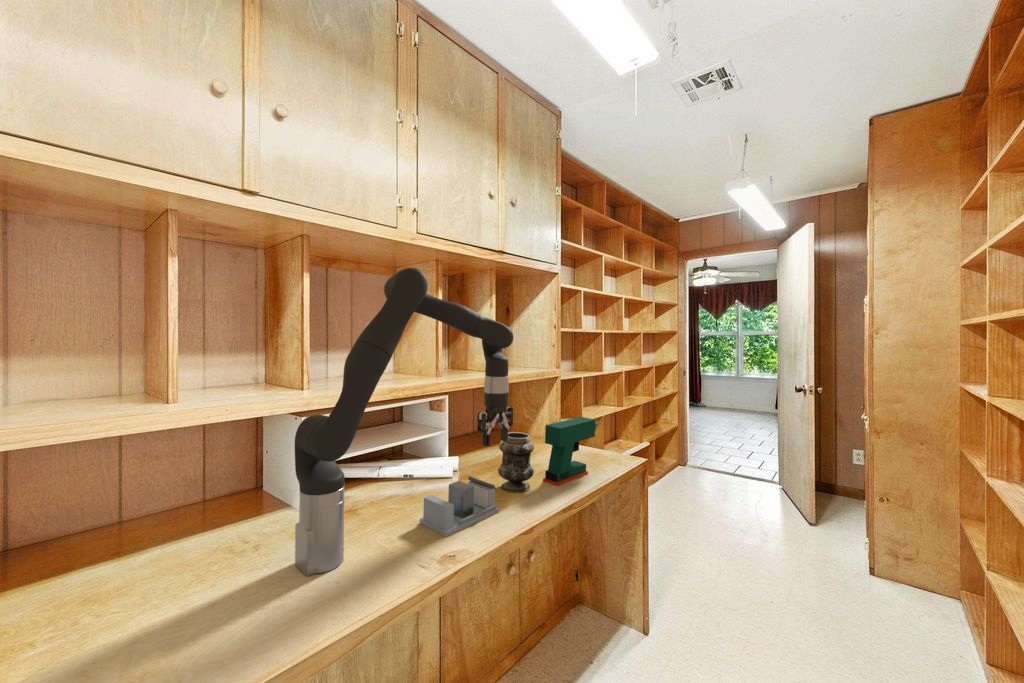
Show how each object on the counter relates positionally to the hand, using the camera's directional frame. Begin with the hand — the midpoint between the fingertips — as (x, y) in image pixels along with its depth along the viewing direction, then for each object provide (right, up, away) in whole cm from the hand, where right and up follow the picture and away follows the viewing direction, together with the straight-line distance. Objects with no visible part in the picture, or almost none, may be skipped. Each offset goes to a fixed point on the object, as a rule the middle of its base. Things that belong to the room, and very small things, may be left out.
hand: (495, 443), depth 131 cm
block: (-9, -17, -10) cm, 22 cm away
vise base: (-9, -19, -10) cm, 23 cm away
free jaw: (-4, -17, -4) cm, 18 cm away
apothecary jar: (+6, -18, +13) cm, 23 cm away
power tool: (+29, -18, +29) cm, 45 cm away
